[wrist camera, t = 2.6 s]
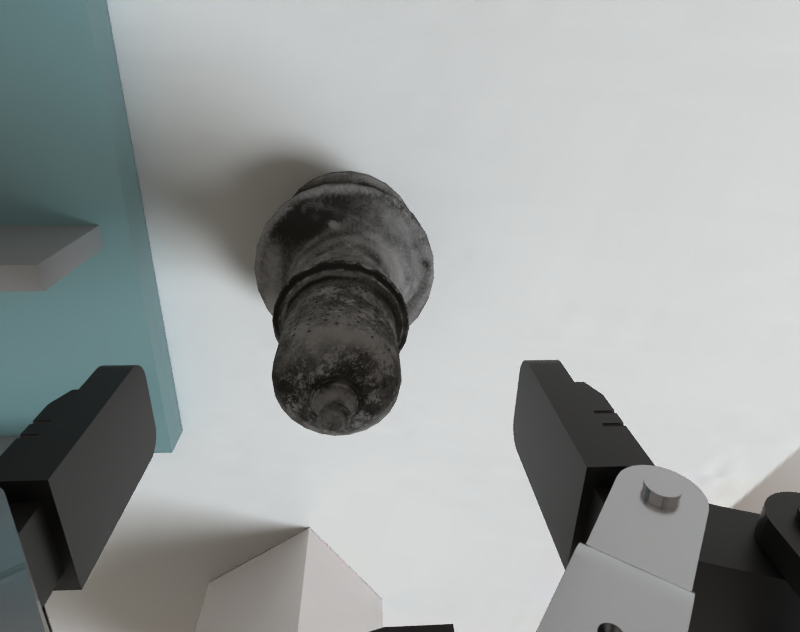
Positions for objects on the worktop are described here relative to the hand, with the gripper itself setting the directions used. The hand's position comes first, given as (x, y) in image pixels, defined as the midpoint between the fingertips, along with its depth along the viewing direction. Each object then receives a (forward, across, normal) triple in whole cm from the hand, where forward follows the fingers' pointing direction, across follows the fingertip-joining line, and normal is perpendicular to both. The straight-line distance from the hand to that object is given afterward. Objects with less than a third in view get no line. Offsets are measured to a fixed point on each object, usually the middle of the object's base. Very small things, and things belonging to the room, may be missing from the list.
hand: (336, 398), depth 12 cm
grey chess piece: (+11, 0, 0) cm, 11 cm away
